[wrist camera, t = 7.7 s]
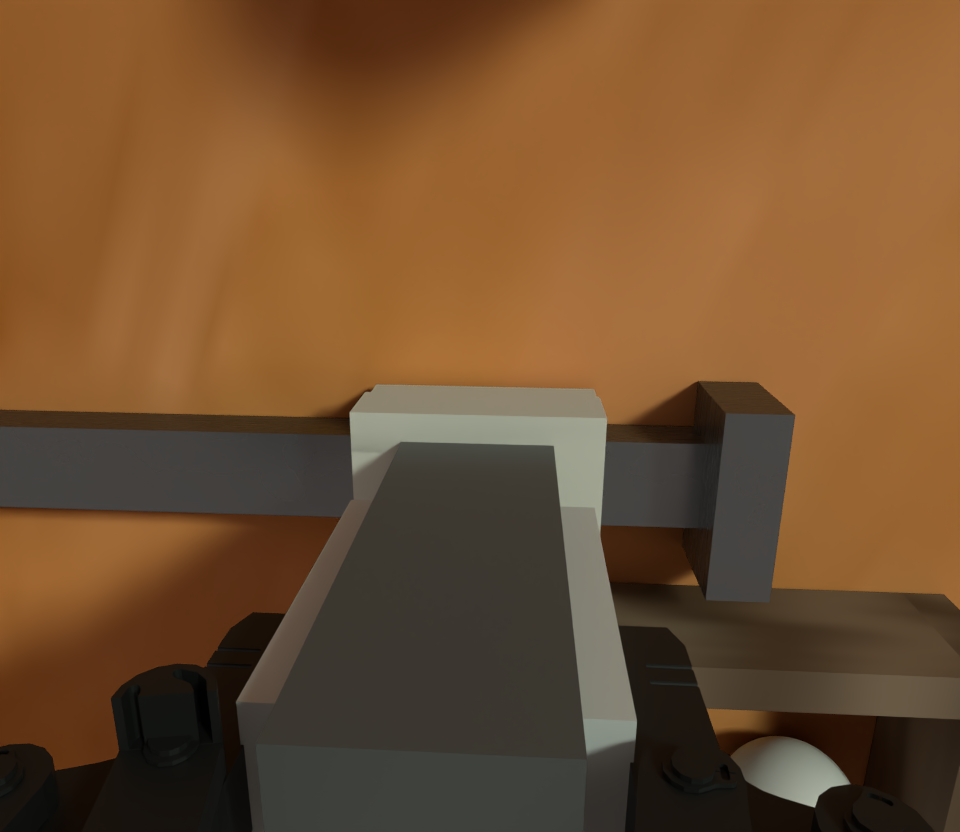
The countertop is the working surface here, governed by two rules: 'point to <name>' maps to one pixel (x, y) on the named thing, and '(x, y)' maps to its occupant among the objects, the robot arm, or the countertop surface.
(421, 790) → the carriage
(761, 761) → the ball
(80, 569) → the countertop surface
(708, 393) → the rail
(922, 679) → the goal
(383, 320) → the countertop surface
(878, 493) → the countertop surface
